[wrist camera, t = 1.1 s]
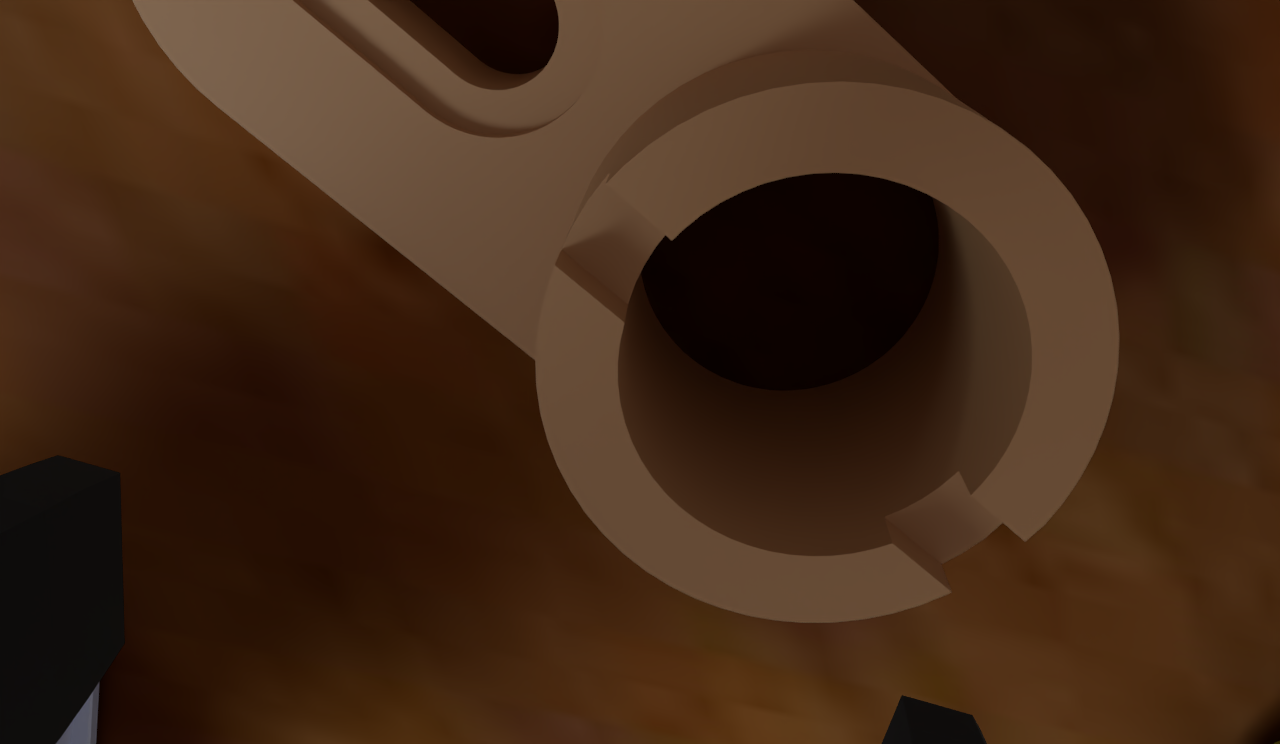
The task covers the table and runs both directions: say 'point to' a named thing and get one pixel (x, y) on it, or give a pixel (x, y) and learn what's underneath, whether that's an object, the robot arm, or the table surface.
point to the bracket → (665, 205)
